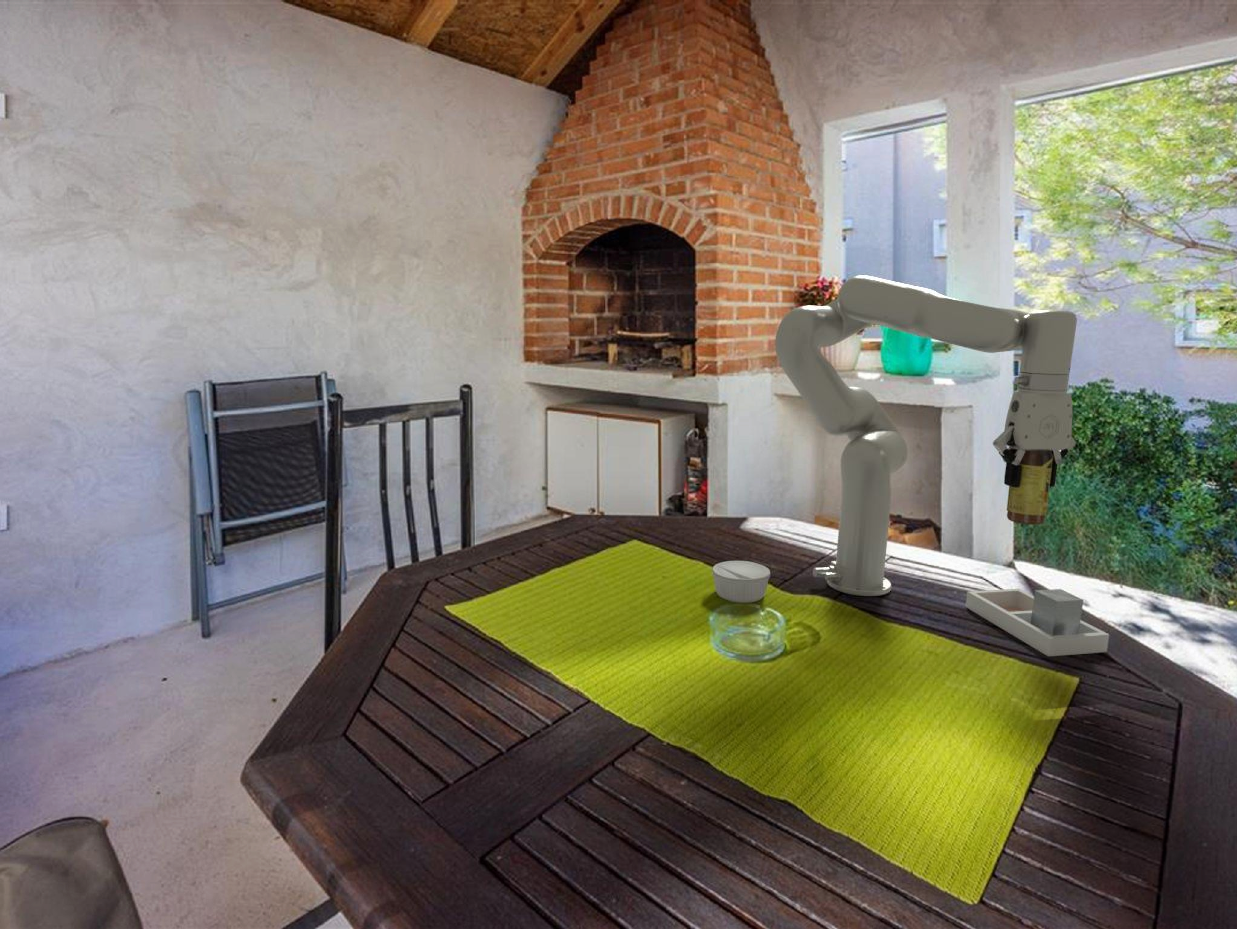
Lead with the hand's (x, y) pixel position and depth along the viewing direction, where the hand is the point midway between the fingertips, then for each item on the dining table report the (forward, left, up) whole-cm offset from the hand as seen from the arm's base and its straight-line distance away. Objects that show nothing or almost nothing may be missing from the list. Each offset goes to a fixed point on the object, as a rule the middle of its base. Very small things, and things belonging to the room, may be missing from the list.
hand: (1029, 484), depth 131 cm
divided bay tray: (0, -5, -26) cm, 26 cm away
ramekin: (-45, +20, -26) cm, 56 cm away
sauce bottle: (0, 0, -7) cm, 7 cm away
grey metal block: (0, -10, -25) cm, 27 cm away
